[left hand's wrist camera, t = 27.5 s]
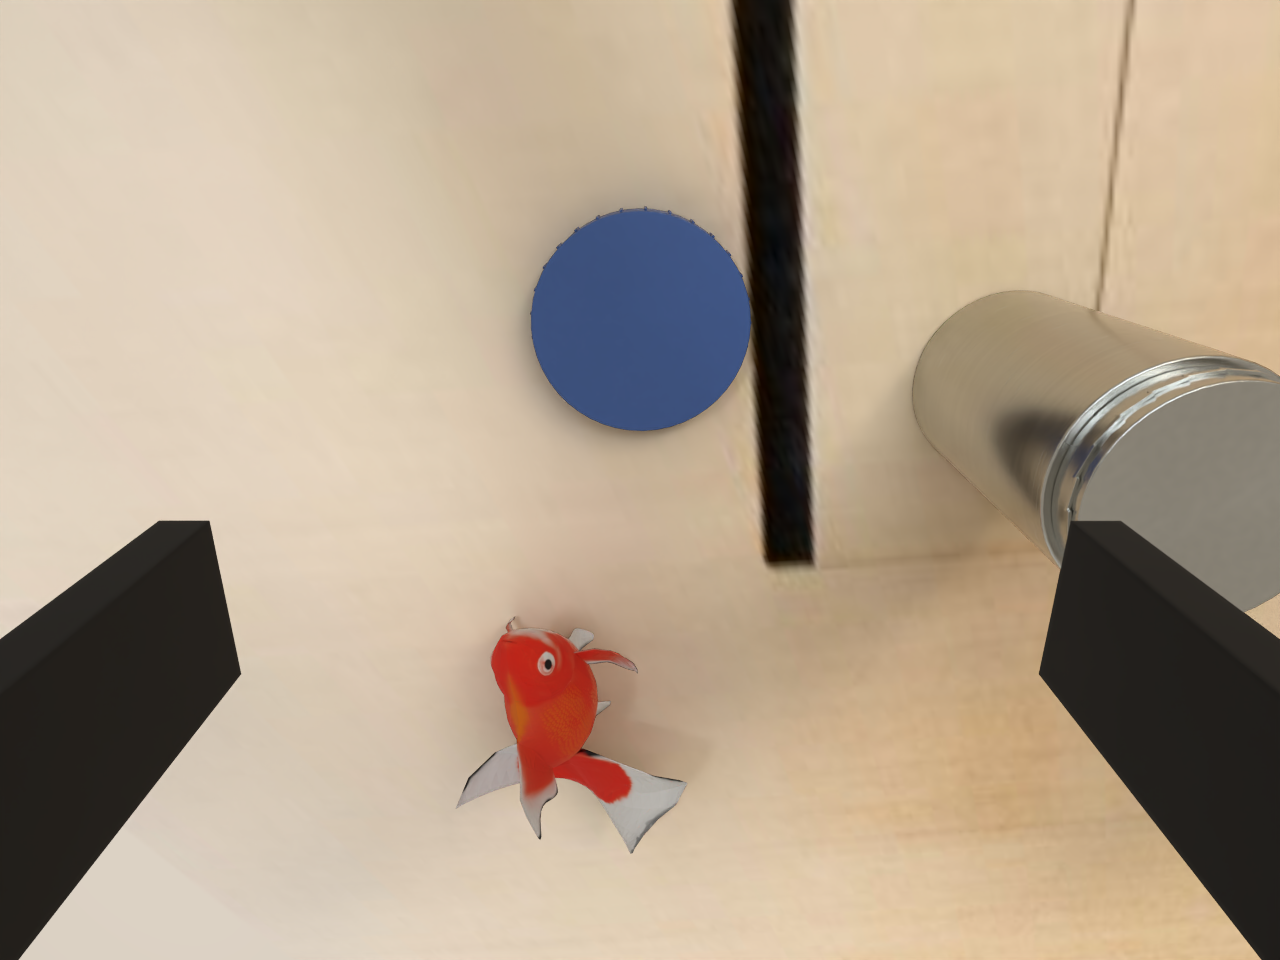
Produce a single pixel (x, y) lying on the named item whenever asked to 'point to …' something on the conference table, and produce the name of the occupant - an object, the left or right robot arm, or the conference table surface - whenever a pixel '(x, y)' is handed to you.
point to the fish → (563, 733)
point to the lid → (640, 319)
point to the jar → (1110, 434)
